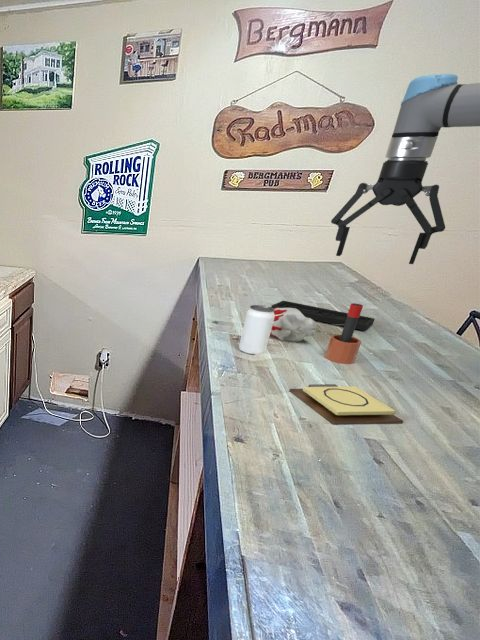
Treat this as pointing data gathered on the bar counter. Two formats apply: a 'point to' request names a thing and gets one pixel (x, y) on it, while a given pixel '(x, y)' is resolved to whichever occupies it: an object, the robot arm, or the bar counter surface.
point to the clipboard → (342, 418)
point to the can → (256, 329)
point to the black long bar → (325, 315)
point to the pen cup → (342, 350)
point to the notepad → (348, 401)
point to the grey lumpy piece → (291, 325)
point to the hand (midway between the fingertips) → (373, 259)
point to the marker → (351, 322)
